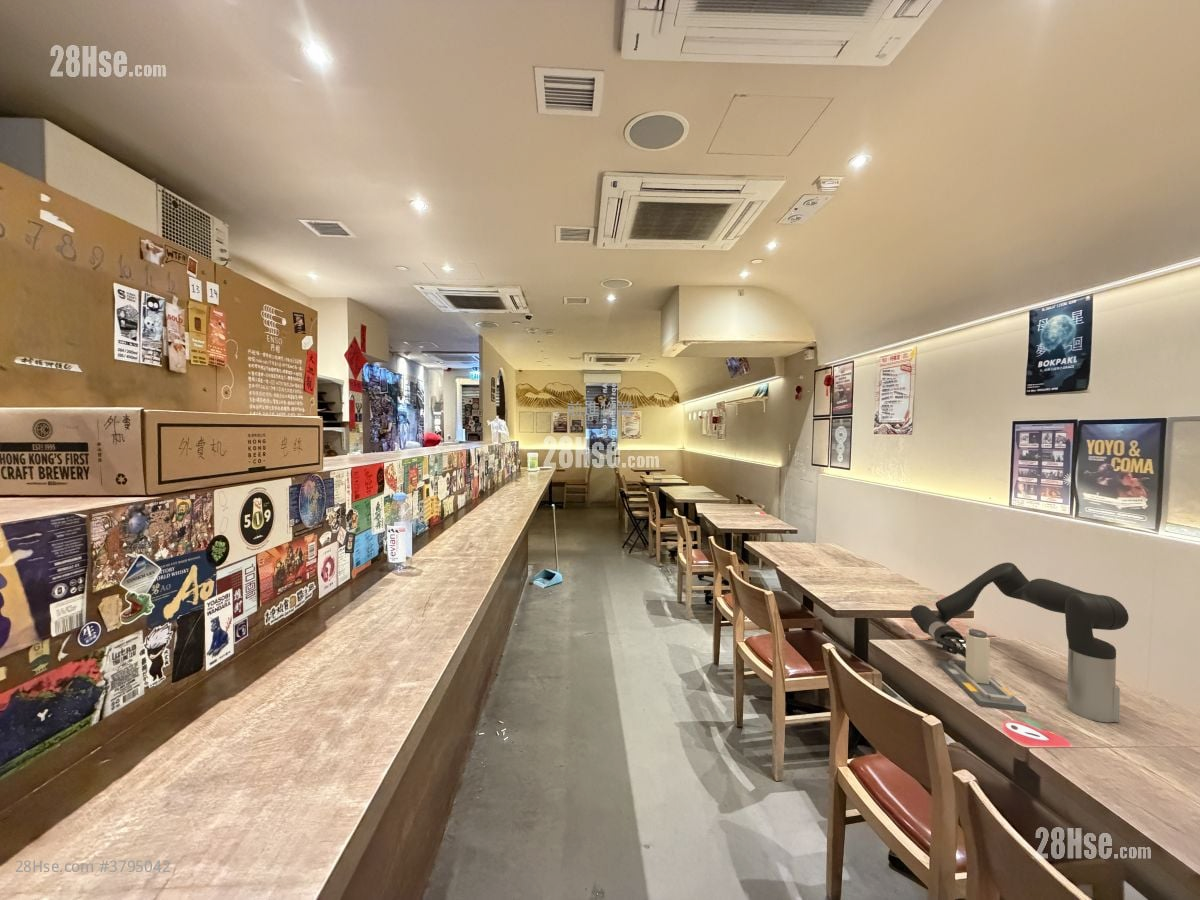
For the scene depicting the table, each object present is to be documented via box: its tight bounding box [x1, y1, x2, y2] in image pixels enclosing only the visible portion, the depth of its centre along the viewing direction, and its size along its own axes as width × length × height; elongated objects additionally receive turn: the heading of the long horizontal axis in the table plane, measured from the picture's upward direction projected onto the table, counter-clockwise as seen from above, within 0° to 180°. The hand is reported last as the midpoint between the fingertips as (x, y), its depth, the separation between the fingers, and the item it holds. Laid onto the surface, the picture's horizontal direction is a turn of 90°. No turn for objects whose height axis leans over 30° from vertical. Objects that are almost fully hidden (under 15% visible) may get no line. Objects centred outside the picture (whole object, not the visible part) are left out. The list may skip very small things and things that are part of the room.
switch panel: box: [938, 659, 1027, 713], centre depth 145 cm, size 26×11×3 cm, turn 166°
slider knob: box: [965, 628, 991, 684], centre depth 146 cm, size 5×4×15 cm
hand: (971, 657), depth 148 cm, fingers closed
